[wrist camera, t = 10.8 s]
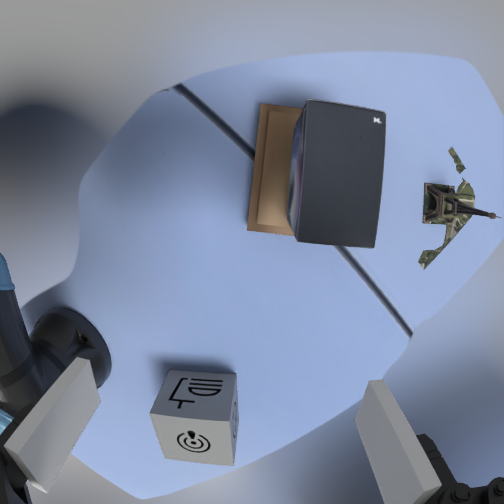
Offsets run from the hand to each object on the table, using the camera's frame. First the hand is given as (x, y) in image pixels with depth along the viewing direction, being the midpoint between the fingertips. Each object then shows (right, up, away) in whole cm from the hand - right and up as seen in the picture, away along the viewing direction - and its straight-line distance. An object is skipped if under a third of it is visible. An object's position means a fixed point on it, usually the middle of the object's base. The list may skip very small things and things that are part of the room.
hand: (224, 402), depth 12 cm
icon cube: (-6, -16, +30) cm, 34 cm away
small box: (+8, +15, +18) cm, 24 cm away
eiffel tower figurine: (+26, +13, +22) cm, 37 cm away
